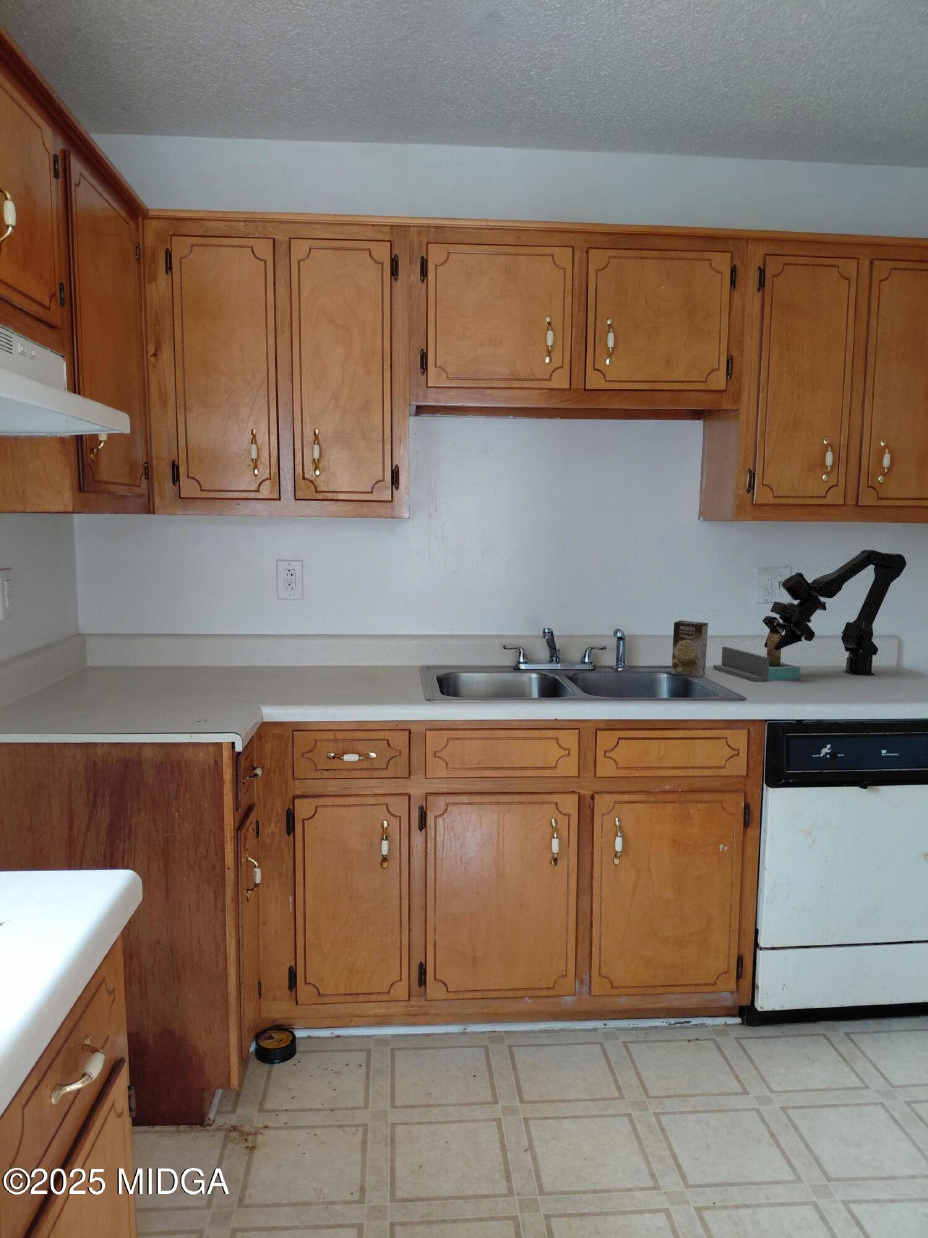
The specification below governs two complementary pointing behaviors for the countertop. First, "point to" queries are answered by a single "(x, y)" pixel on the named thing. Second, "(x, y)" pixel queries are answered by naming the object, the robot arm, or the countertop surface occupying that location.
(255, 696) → the countertop surface
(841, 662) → the countertop surface
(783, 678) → the socket block
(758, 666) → the backstop wall
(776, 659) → the dowel
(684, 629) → the coffee box
